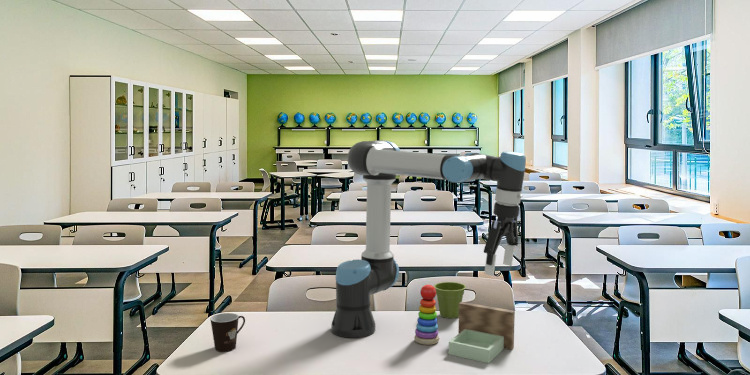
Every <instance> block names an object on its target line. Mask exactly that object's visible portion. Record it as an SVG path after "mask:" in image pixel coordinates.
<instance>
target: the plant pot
mask: <svg viewBox="0 0 750 375" xmlns="http://www.w3.org/2000/svg"><path fill="white" fill-rule="evenodd" d="M433 287H434V288H435V289H436V297H437V304H438V309H439V316H440V317H441V318H444V319H445V318H448V319H457V318H459V303H460V302H463V297H464V294H465V289H466V288H467V286H466V285H465V284H464V283H461V282H454V281H442V282H437V283H435V284H434V285H433Z"/></svg>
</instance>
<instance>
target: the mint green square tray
mask: <svg viewBox="0 0 750 375" xmlns="http://www.w3.org/2000/svg"><path fill="white" fill-rule="evenodd" d="M504 349H505V348H504V336H499V335H494V334H489V333H484V332H479V331H474V330H469V329H464V330H463V331H462V332H460V333H459V334H456V335H455V336H454V337H453V338H451V339H450V340H448V355H451V356H455V357H459V358H462V359H463V358H464V359H467V360H473V361H477V362H482V363H486V364H490V363H491V362H492V361H493V360H494V359H495V358H496V357H497V356H498V355H499V354H501V352H502V351H503V350H504Z"/></svg>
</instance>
